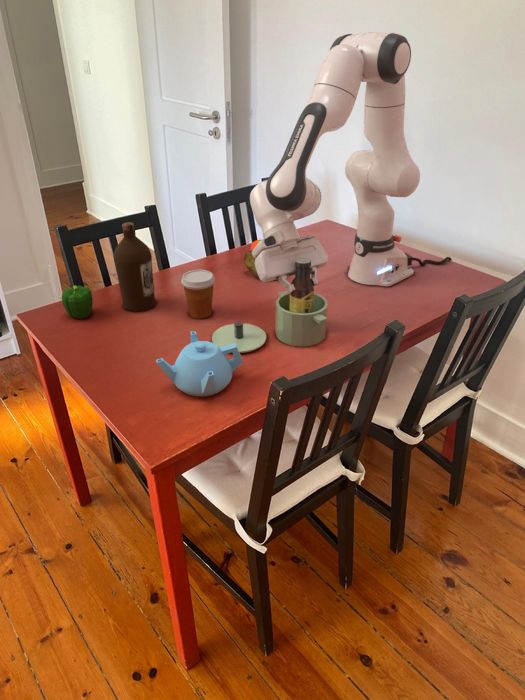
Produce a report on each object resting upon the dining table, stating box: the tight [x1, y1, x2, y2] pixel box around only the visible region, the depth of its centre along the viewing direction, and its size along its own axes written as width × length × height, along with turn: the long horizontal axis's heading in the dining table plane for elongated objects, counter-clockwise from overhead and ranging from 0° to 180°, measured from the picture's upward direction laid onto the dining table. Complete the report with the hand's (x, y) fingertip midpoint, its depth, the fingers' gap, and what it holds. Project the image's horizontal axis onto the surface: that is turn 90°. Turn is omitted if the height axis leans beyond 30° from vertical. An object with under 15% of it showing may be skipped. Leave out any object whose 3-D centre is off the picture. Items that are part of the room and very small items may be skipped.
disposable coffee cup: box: [180, 269, 216, 319], centre depth 152 cm, size 10×10×12 cm
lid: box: [211, 321, 267, 354], centre depth 141 cm, size 15×15×5 cm
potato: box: [243, 249, 259, 278], centre depth 175 cm, size 8×13×8 cm, turn 34°
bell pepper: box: [61, 285, 93, 320], centre depth 152 cm, size 8×8×10 cm
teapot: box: [155, 330, 244, 398], centre depth 123 cm, size 15×15×11 cm
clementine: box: [249, 239, 262, 251], centre depth 187 cm, size 8×7×7 cm
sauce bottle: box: [289, 258, 315, 314], centre depth 139 cm, size 7×6×20 cm
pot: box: [274, 290, 329, 347], centre depth 142 cm, size 14×19×10 cm
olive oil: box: [113, 221, 156, 312], centre depth 153 cm, size 11×11×25 cm
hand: (303, 288), depth 137 cm, fingers closed on sauce bottle, 6 cm apart
